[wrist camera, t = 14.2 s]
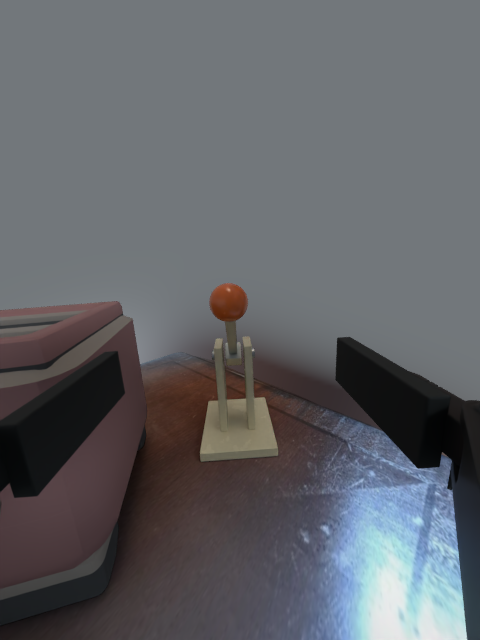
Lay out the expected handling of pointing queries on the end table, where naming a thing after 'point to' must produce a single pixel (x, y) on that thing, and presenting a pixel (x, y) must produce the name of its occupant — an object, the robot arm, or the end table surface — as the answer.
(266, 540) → the end table surface
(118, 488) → the toaster
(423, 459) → the robot arm
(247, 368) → the bracket
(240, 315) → the lever
